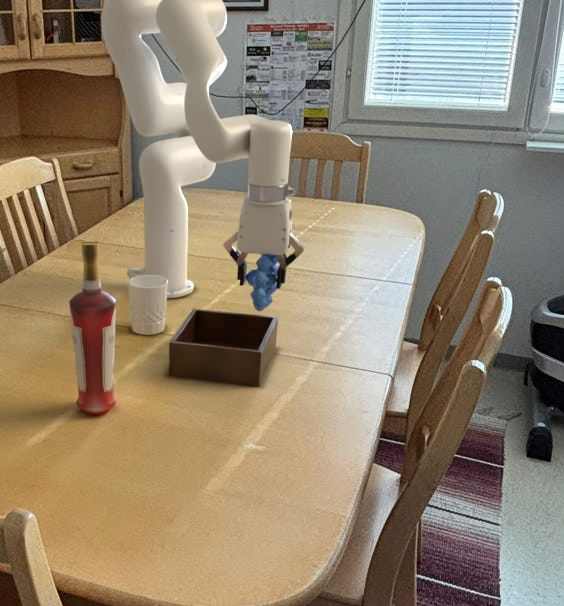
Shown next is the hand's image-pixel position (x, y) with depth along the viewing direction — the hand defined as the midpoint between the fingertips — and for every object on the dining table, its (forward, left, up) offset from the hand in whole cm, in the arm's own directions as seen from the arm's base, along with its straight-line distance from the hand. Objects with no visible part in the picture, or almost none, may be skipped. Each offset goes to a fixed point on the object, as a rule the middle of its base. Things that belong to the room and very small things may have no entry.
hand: (260, 284), depth 172 cm
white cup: (-21, -9, -9) cm, 24 cm away
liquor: (-19, -46, -9) cm, 50 cm away
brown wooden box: (-3, -21, -8) cm, 23 cm away
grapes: (0, 0, -5) cm, 5 cm away
